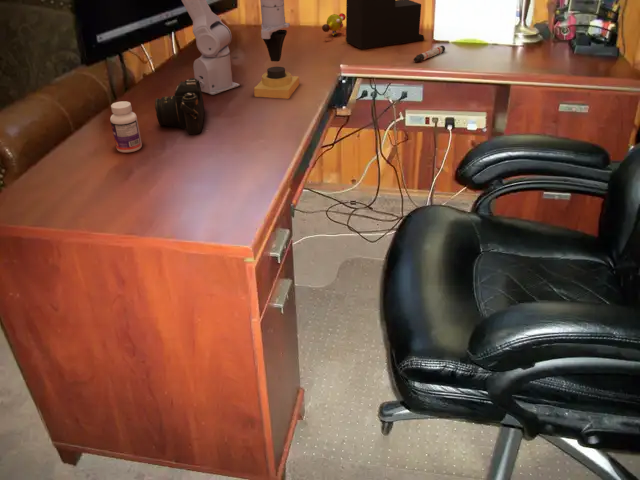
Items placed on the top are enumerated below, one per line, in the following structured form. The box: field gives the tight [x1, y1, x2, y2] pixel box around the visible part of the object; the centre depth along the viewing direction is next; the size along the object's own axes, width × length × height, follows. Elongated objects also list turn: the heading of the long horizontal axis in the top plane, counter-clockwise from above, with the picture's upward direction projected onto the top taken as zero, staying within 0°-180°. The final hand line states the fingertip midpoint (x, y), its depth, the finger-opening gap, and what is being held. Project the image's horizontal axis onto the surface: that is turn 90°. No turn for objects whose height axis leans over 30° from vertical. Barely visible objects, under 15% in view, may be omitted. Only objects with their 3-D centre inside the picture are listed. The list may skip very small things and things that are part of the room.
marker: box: [413, 45, 446, 63], centre depth 184 cm, size 15×2×2 cm, turn 138°
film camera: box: [154, 77, 205, 135], centre depth 141 cm, size 18×12×10 cm
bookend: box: [345, 0, 425, 50], centre depth 194 cm, size 23×11×24 cm, turn 115°
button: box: [266, 66, 286, 79], centre depth 160 cm, size 5×5×2 cm
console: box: [253, 71, 300, 99], centre depth 161 cm, size 11×9×4 cm
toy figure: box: [321, 12, 346, 37], centre depth 206 cm, size 18×6×7 cm, turn 159°
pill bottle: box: [110, 100, 143, 153], centre depth 130 cm, size 5×5×10 cm
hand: (275, 60), depth 158 cm, fingers closed
